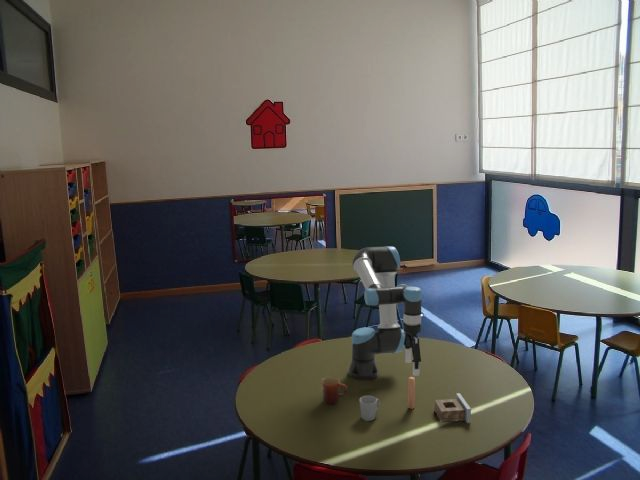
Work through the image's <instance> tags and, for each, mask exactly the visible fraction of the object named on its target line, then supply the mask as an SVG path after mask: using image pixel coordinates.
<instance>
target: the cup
mask: <svg viewBox="0 0 640 480" xmlns="http://www.w3.org/2000/svg"><path fill="white" fill-rule="evenodd" d="M359 407H360V409H359V410H360V416H361V418H362V420H363V421H366V422H371V421H374V420H375V419H376V413H377V412H378V411H379V409H380V407H381V401H380V399H379V398H376V397H375V396H373V395H363V396H361V397H360V398H359Z"/></svg>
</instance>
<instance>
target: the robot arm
mask: <svg viewBox="0 0 640 480" xmlns="http://www.w3.org/2000/svg"><path fill="white" fill-rule="evenodd" d="M351 264H352V268H353V270H354V272H355V273H356V274H357V275H358V276H359V278H360V281H361V283H362V286H364V289H365V290H364V294H363V295H364V297H363V298H364V301H365V302H364V303H365V304H366V306H378V308H379V309H378V310H379V324H378V325H377V330H375V329H374V328H372V327H366V326H365V327H360V328H356V329H355V330H354V331H352V333H351V341H350V342H351V361H350V365H349V366H348V367H349V368H348V376H349V377H351V378H352V379H355V380H359V381H368V380H373V379H376V378H377V377H379V368H378V365H377V363H376V355H385V354H386V355H387V354H395V353H401V352H402V351H403V350H404V363H405V364H411V363H412V377H415V376H417V377H418V376H419V377H420V363H421V362H422V358H421V348H420V337H418V334H420V333H421V332H422V318H423V314H422V300H423V299H422V298H423V295H422V289H421V288H420V287H417V286H410V285H408V284H404V283H401V284H399V285H397V286H396V285H395V284H396V283H395V275H396V274H397V273H398V269H400V268H401V258H400V254H399V252H398V250H397V248H396V247H395V246H389V245H388V246H387V245H386V246H370V247H364V248H361V249H359V250H358V251H357V252H355V254H354V256H353V258H352V263H351ZM398 304H402V305H403V328H401V325H400V324H399V323H398V315H397V305H398Z"/></svg>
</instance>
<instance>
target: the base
mask: <svg viewBox="0 0 640 480" xmlns="http://www.w3.org/2000/svg"><path fill="white" fill-rule="evenodd" d="M455 399H457V400H458V401H459V402H460V404H461V405H462V407H463V408H464V410H465V420H466V421H465V420H464V421H465V423H466V422H470V421H471V416H472V408H471V407H470V405H469V404H468V402H467V401H466V399H465V398H464V397H463V396H462V394H461V393H459V392H458V393H456V394H455ZM470 423H471V422H470Z"/></svg>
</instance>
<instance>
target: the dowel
mask: <svg viewBox="0 0 640 480" xmlns="http://www.w3.org/2000/svg"><path fill="white" fill-rule="evenodd" d="M407 379H408V388H407V389H408V390H407V391H408V392H407V393H408V394H407V396H408V397H407V399H408V401H407V402H408V403H407V408H408V409H409V408H410V410H414V409H415V408H416V407H415V406H416V405H415V403H416V402H415V399H416V395H415V394H416V393H415V392H416V378H415V376H410V377H408V378H407ZM414 407H415V408H414ZM413 408H414V409H413Z"/></svg>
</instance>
